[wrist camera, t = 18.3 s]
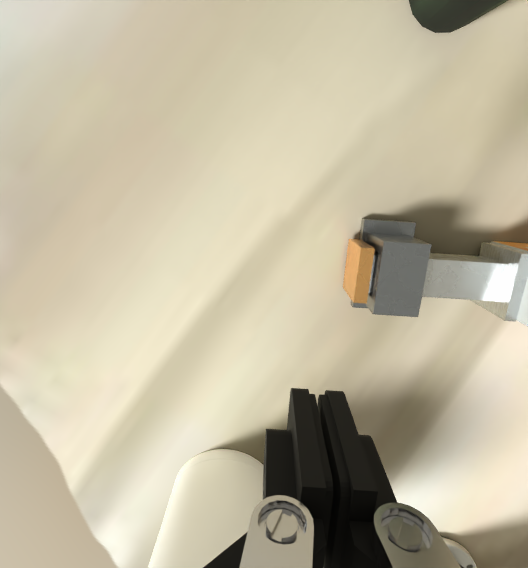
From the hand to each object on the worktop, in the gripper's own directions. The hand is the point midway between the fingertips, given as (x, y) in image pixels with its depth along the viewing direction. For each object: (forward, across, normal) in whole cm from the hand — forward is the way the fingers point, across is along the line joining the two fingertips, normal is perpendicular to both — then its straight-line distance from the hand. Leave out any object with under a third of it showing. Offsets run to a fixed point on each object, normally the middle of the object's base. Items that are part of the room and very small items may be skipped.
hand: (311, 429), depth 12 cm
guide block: (+27, -10, 0) cm, 29 cm away
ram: (+27, -13, 0) cm, 30 cm away
